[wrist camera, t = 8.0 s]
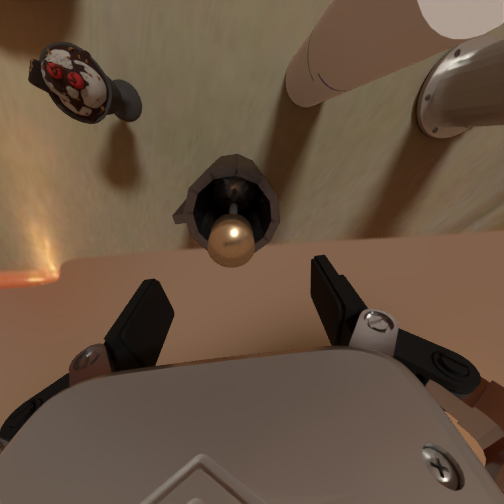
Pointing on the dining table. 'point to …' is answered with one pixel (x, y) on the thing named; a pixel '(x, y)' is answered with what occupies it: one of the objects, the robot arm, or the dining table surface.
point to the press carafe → (208, 210)
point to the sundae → (82, 85)
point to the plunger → (232, 222)
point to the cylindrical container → (380, 41)
